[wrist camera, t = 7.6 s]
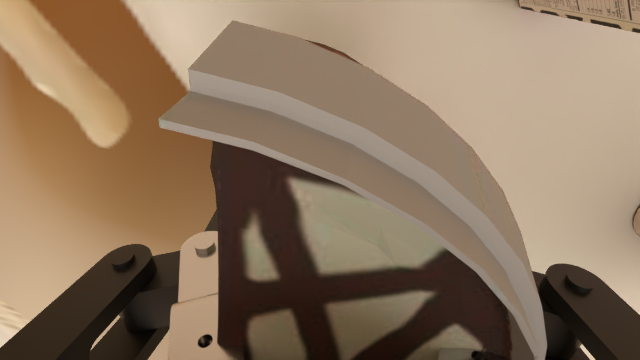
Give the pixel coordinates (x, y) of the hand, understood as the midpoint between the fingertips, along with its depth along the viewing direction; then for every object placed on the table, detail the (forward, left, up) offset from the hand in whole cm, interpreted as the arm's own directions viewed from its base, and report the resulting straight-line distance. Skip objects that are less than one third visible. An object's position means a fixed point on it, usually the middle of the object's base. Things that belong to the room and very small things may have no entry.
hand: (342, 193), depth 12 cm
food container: (-1, 0, -2) cm, 2 cm away
